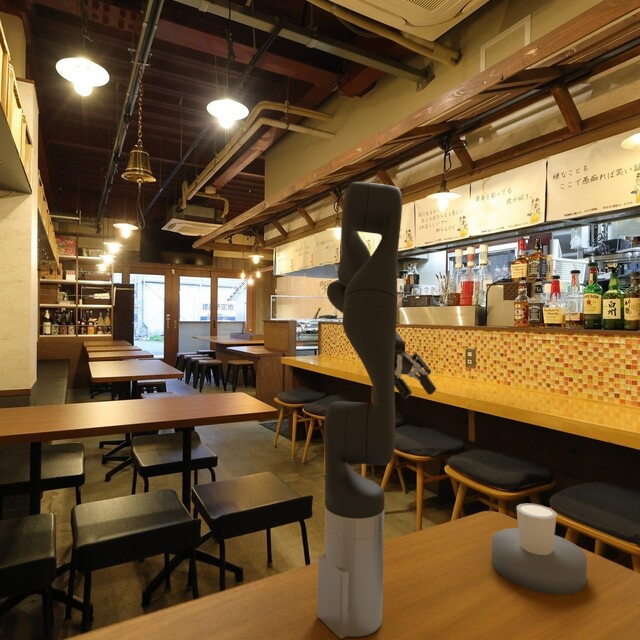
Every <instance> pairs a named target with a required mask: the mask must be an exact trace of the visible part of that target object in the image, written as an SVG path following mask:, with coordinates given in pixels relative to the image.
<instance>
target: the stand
mask: <svg viewBox="0 0 640 640" xmlns="http://www.w3.org/2000/svg"><path fill="white" fill-rule="evenodd" d="M587 560H588V558H587V555H586V553H585V551H583V550H582V549H581V548H580V547H579V546H578V545H576V544H575V543H573V542H572V541H569V540H567V539H565V538H564V537H561V536H558V535H556V534H554V541H553V550H552V553H551V554H548V555H538V554H533V553H530V552H528V551H526V550H524V549H523V548H521V546H520V545H519V532H518V527H509V528H505V529H499V531H497V532H495V533H494V534H493V535H492V538H491V563H492V566H493V568H494V569H495V571H497V572H498V574H500V575H501V576H502V577H504V578H505V580H506V579H507V580H508V581H509V582H512V584H513V583H514V584H515V585H517V586H519V587H522V588H525V589H528V590H531V591H534V592H538V593H542V594H550V595H562V596H563V595H573V594H576V593H579V592H581V591H582V590H584V589H585V587H586V585H587V576H588V575H587V573H588V572H587V571H588V570H587V569H588V568H587V567H588V566H587V565H588V561H587Z"/></svg>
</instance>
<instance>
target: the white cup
mask: <svg viewBox="0 0 640 640" xmlns="http://www.w3.org/2000/svg"><path fill="white" fill-rule="evenodd" d="M516 517H517V519H516V520H517V528H518V532H519V545H520V546H521V548H523V549H524V550H526V551H528V552H530V553H533V554H538V555H548V554H551V553H552V550H553V541H554V535H555V533H556V524H557V512H556V511H555V510H553V509H552V508H550V507H547V506H544V505H542V504H537V503H519V504H518V505H516Z"/></svg>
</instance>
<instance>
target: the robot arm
mask: <svg viewBox="0 0 640 640" xmlns="http://www.w3.org/2000/svg"><path fill="white" fill-rule="evenodd" d="M342 203H343V204H342V211H341V228H340V229H341V231H340V245H341V246H340V247H341V249H340V259H339V264H338V268H337V279H336V280H333V281H332V282H330V283H329V284H328V285H327V288H326V295H327V299H328V301H329V302H330V303H331V305H332V306H333V307H334V308H335V309H336V310H338V311H339V312H340V313H341V314H342V327H343V331H344V332H345V333H344V334H345V336H346V338H347V339H348V341H349V343H350V345H351V347H352V348H353V350H354V351H355V353H356V354H357V356H358V358H359V359H360V361H361V363H362V365H363V366H364V369H365V371H366V373H367V375H368V377H369V379H370V382H371V385H372V388H373V391H374V396H375V397H374V398H375V401H374V402H360V401H357V402H356V401H343V400H342V401H333V402H331V403H330V404H329V405H328V406H327V409H326V412H325V415H324V422H323V423H324V425H323V447H324V449H323V450H324V530H323V533H324V534H323V537H324V538H323V553H321V554H320V555H318V561H317V562H318V565H317V566H318V567H317V571H318V572H317V573H318V574H317V615H316V616H317V618H318V619H319V620H321V622H323V623H324V625H326V626H327V627H328V629H330V630H331V631H332V632H333V633H334V634H335V635H336V636H337V637H338V638H339V639H340V640H342V639H344V638H347V637H353V638H356V637H357V638H358V637H359V638H360V637H365V636H369V635H371V634H373V633H375V632H376V631H377V630H379V628H380V627H381V626H382V623H383V608H384V607H383V603H384V602H383V599H384V598H383V597H384V593H383V592H384V551H385V550H384V548H385V547H384V545H385V543H384V542H385V541H384V540H385V539H384V538H385V501H386V500H385V492H384V489H383V487H381V486H380V485H379V484H378V483H376V481H373V480H371V479H370V478H367V477H365V476H363V475H361V474H360V473H358V472H356V471H355V470H354V469H353V468H352V467H351V466H350V465H349V464H359V465H374V466H375V465H376V466H386V465H389V464H390V463H391V461H392V460H393V457H394V453H395V447H396V400H395V399H396V397H395V396H396V394H395V388H396V390H397V391H398V394H400V396H402V398H403V399H407V398H409V397H410V396H411V395H412V389H410V386H408V384H407V382H406V381H405V380H404V378H402V375H406V376H408V377H410V378H413V379H416V380H417V381H419V383H420V385H421V387H422V388H423V390H424V391H425V392H426V393H427V395H429V396H430V395H434V393H435V392H436V390H437V387H436V386H435V384H434V383H433V382H432V380H431V379H430V378H429V375H431V373H432V370H431V368H430V367H429V366H428V365H427V364H426V363H425V361H424V360H423V358H421V356H420V355H419V353H417V352H415V353H413V355H410V354H408V352H406V346H407V345H406V342H405V340H403V338H402V336H401V335H400V334H399V333H398V331H397V322H398V321H397V320H398V257H399V256H398V255H399V246H400V245H399V244H400V235H401V224H402V215H403V213H402V212H403V196H402V192H401V189H400V188H399V187H397V186H395V185H390V184H389V185H388V184H383V183H374V182H367V181H353V182H351V183H350V184H349V185H348V186H347V188H346V191H345V194H344V198H343V202H342ZM359 232H360V233H368V234H377V235H380V237H381V239H380V241H379V243H378V245H377V247H376V248H375V250H374V251H373V253H372V254H371V252H370V250H369V248H368V246H367V245H366V243H365V241H364V240H363V239H362V238H361V236H360V234H359Z"/></svg>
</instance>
